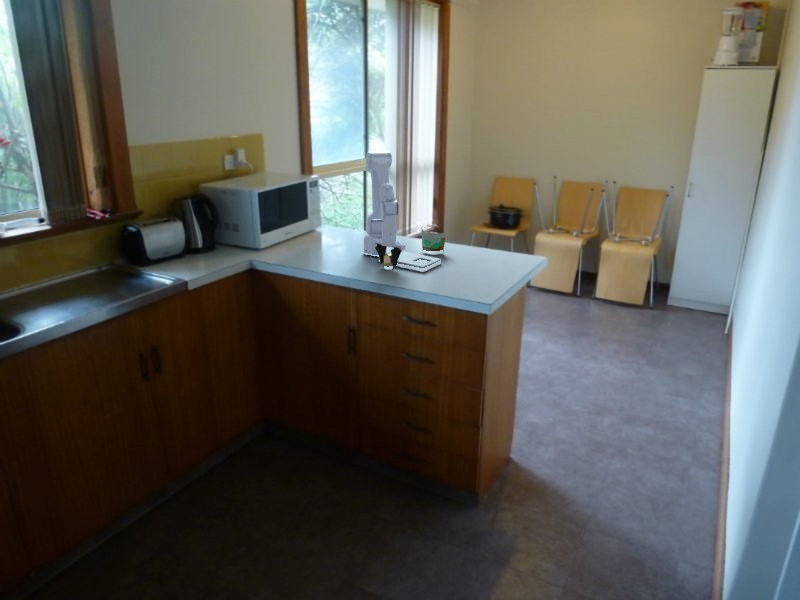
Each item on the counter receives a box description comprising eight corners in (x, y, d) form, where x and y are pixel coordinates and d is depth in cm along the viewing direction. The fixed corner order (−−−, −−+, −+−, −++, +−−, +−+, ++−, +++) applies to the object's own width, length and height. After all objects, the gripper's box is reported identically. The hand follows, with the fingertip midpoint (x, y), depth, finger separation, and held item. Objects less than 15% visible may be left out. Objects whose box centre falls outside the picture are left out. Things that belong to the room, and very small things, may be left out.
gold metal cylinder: (381, 269, 238) (381, 254, 236) (387, 266, 242) (387, 252, 239) (389, 270, 236) (390, 256, 234) (395, 268, 239) (396, 254, 237)
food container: (414, 253, 260) (415, 231, 257) (420, 250, 266) (421, 228, 262) (440, 257, 255) (441, 235, 252) (446, 254, 260) (447, 232, 257)
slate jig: (378, 262, 246) (378, 257, 245) (397, 255, 257) (397, 249, 256) (423, 272, 235) (423, 266, 234) (441, 264, 245) (441, 258, 245)
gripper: (368, 230, 234) (368, 263, 239) (398, 236, 226) (397, 269, 231) (378, 227, 240) (378, 259, 244) (408, 232, 232) (407, 265, 237)
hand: (388, 264), depth 238 cm, fingers open, 5 cm apart
